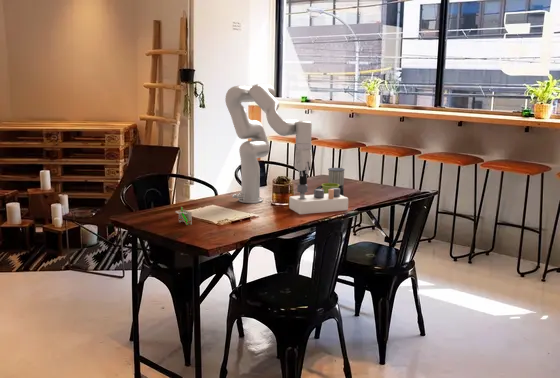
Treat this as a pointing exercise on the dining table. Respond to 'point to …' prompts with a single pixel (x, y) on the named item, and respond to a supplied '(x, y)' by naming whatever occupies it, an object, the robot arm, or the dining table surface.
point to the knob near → (302, 190)
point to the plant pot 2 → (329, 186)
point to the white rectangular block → (317, 204)
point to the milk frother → (336, 178)
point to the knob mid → (318, 193)
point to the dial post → (330, 193)
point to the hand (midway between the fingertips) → (303, 184)
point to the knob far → (336, 192)
